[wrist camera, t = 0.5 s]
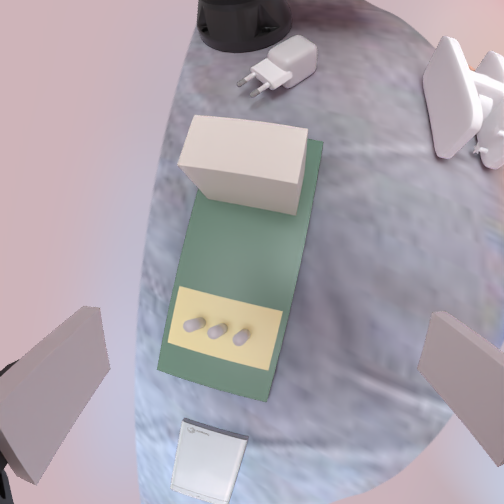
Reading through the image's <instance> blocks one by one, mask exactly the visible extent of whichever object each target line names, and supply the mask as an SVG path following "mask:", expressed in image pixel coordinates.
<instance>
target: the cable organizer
mask: <svg viewBox="0 0 504 504" xmlns="http://www.w3.org/2000/svg"><path fill="white" fill-rule="evenodd" d="M423 89H424V93H425V98H426V102H427V107H428V112H429V118H430V123H431V129H432V135H433V141H434V148H435V152H436V154H437V156H438V157H441V158H446V159H450V158H451V157H452V156H453V155H455V154H456V153H457V152H458V151H459V150H460V149H462V147H463V146H464V145H465V144H466V143H467V142H468V141H469V140H470V139H471V138H472V137H473V136H474V135H477V140H478V143H477V145H475V146H473V147H474V152H473V154H474V153H475V152H476V153H477V154H478V152H480V155H481V159H482V162H483V164H484V165H485V166H486V167H488V168H492V169H498V168H500V167H501V166H503V165H504V57H503V56H502V55H500V54H498V53H495V52H493V51H489V52H488V53H487V54H486V56H485V57H484V59H483V60H482V61H481V63H480V64H479V66H478V67H477V69H476V70H475V72H474V71H471V70H470V69H469V67H468V64H467V62H466V59H465V57H464V54H463V52H462V49H461V47H460V45H459V43H458V41H457V40H456V39H454V38H451V37H448V36H443V37H442V38H441V40H440V42H439V44H438V46H437V48H436V50H435V52H434V54H433V56H432V58H431V60H430V62H429V64H428V66H427V68H426V70H425V72H424V75H423Z"/></svg>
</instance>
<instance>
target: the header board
mask: <svg viewBox="0 0 504 504" xmlns="http://www.w3.org/2000/svg"><path fill="white" fill-rule="evenodd" d="M322 147H323V142H322V141H317V140H312V139H307V149H306V161H305V172H304V178H303V183H302V188H301V193H300V198H299V203H298V208H297V213H296V216H295V215H290V214H285V213H280V212H275V211H270V210H265V209H260V208H254V207H249V206H244V205H238V204H233V203H227V202H222V201H216V200H210V199H208V198H207V197H206V196H205V195H204V194H203V193H202V192H201V191H200V190H199V188H198V191H197V195H196V199H195V202H194V206H193V210H192V213H191V217H190V221H189V225H188V229H187V233H186V236H185V240H184V244H183V248H182V253H181V257H180V261H179V265H178V269H177V274H176V278H175V282H174V287H173V291H172V296H171V300H170V305H169V310H168V315H167V320H166V324H165V329H164V335H163V340H162V345H161V350H160V356H159V361H158V367H157V370H159V371H162V372H165V373H168V374H171V375H173V376H176V377H179V378H182V379H185V380H188V381H191V382H195V383H198V384H201V385H204V386H208V387H211V388H214V389H218V390H221V391H225V392H228V393H232V394H236V395H239V396H243V397H247V398H251V399H255V400H259V401H264V402H267V399H268V395H269V391H270V388H271V384H272V380H273V376H274V373H275V369H276V365H277V361H278V357H279V353H280V349H281V345H282V341H283V337H284V333H285V329H286V325H287V321H288V316H289V312H290V308H291V304H292V299H293V295H294V290H295V286H296V282H297V277H298V272H299V268H300V263H301V258H302V254H303V249H304V244H305V239H306V234H307V229H308V224H309V219H310V214H311V209H312V204H313V198H314V193H315V187H316V182H317V176H318V171H319V165H320V159H321V153H322Z"/></svg>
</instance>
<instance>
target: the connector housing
mask: <svg viewBox="0 0 504 504" xmlns="http://www.w3.org/2000/svg"><path fill="white" fill-rule="evenodd" d="M307 137H308V129H305V128H299V127H293V126H287V125H281V124H274V123H267V122H260V121H252V120H244V119H235V118H225V117H214V116H202V115H194V117H193V120H192V123H191V126H190V128H189V131H188V134H187V137H186V140H185V143H184V146H183V149H182V152H181V155H180V158H179V161H178V164H177V165H178V166H179V167H180V168H181V170H182V171H183V172H184V173H185V174H186V175H187V176H188V177H189V178H190V180H191V181H192V182H193V183H194V184H195V185H196V186H197V187H198V188H199V190H200V191H201V192H202V193H203V194H204V195H205V196H206V197H207V198H208V199H210V200H216V201H222V202H227V203H233V204H238V205H244V206H249V207H254V208H260V209H265V210H270V211H275V212H280V213H285V214H290V215H295V216H296V213H297V208H298V203H299V198H300V193H301V188H302V183H303V178H304V172H305V161H306V149H307Z"/></svg>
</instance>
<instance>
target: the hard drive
mask: <svg viewBox="0 0 504 504" xmlns="http://www.w3.org/2000/svg"><path fill="white" fill-rule="evenodd" d="M247 441H248V436H244V435H240V434H236V433H232V432H229V431H225V430H222V429H218V428H215V427H212V426H208V425H205V424H202V423H199V422H196V421H193V420H190V419H187V418H184V419H183V420H182V424H181V429H180V435H179V440H178V446H177V451H176V456H175V462H174V468H173V474H172V480H171V486H170V489H172V490H174V491H176V492H179V493H182V494H185V495H188V496H191V497H194V498H197V499H200V500H203V501H206V502H210V503H213V504H229V500H230V497H231V494H232V491H233V488H234V485H235V481H236V478H237V475H238V472H239V468H240V465H241V462H242V458H243V455H244V451H245V448H246V444H247Z"/></svg>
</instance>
